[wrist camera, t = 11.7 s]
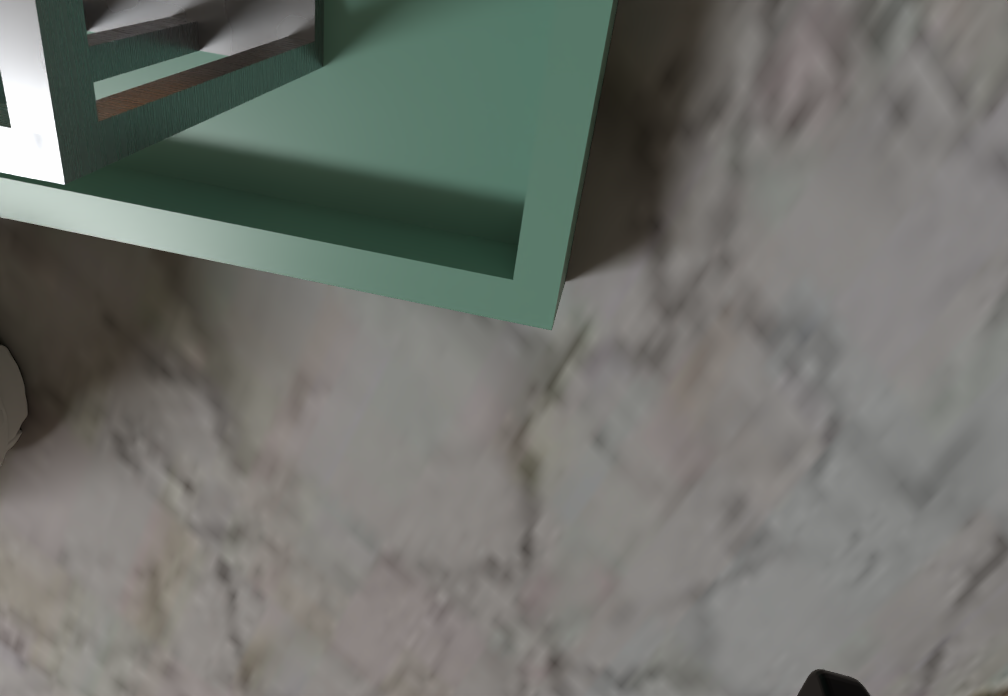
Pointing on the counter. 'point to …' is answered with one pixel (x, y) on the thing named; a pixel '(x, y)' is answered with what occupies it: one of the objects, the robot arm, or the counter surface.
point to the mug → (10, 402)
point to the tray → (377, 159)
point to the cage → (130, 46)
